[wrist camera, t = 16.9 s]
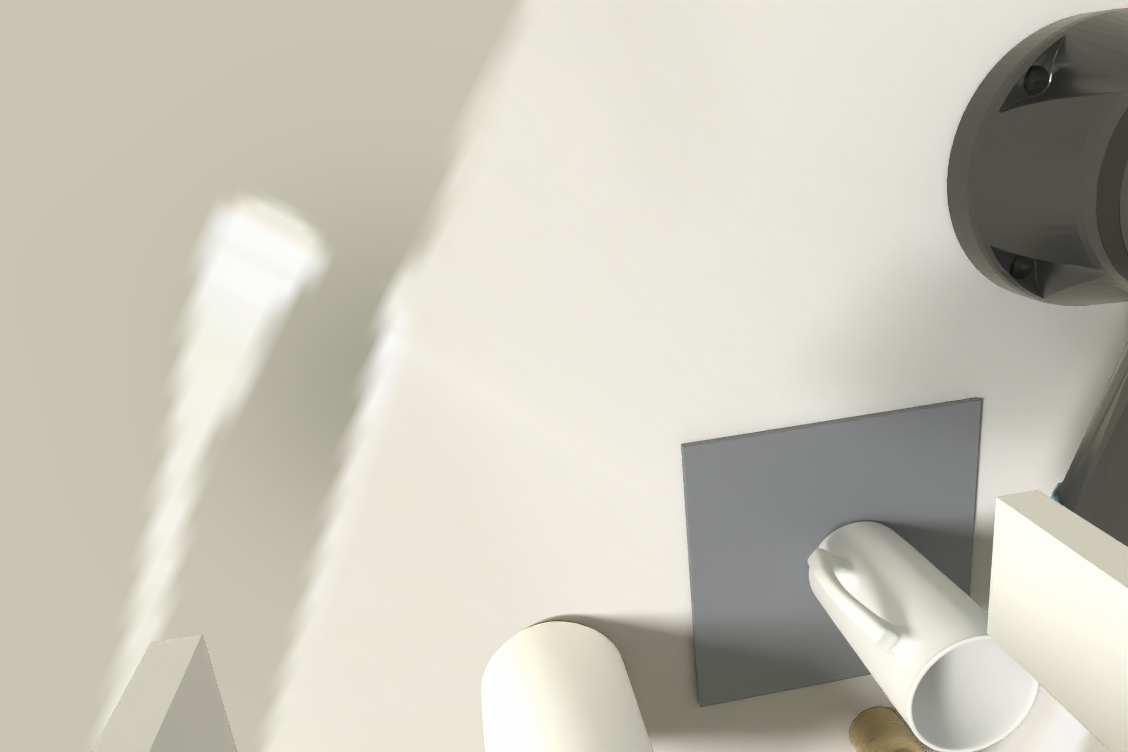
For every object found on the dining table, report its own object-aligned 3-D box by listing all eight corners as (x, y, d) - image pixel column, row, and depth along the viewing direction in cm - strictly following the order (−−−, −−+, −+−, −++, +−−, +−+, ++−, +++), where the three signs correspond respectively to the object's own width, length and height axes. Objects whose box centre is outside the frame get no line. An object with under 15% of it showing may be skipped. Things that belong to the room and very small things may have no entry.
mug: (928, 546, 51) (1067, 671, 40) (862, 629, 52) (979, 773, 41) (807, 472, 48) (919, 583, 37) (740, 561, 49) (829, 696, 38)
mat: (976, 397, 49) (981, 400, 48) (961, 651, 55) (965, 655, 54) (681, 444, 47) (683, 447, 46) (698, 701, 53) (700, 706, 52)
